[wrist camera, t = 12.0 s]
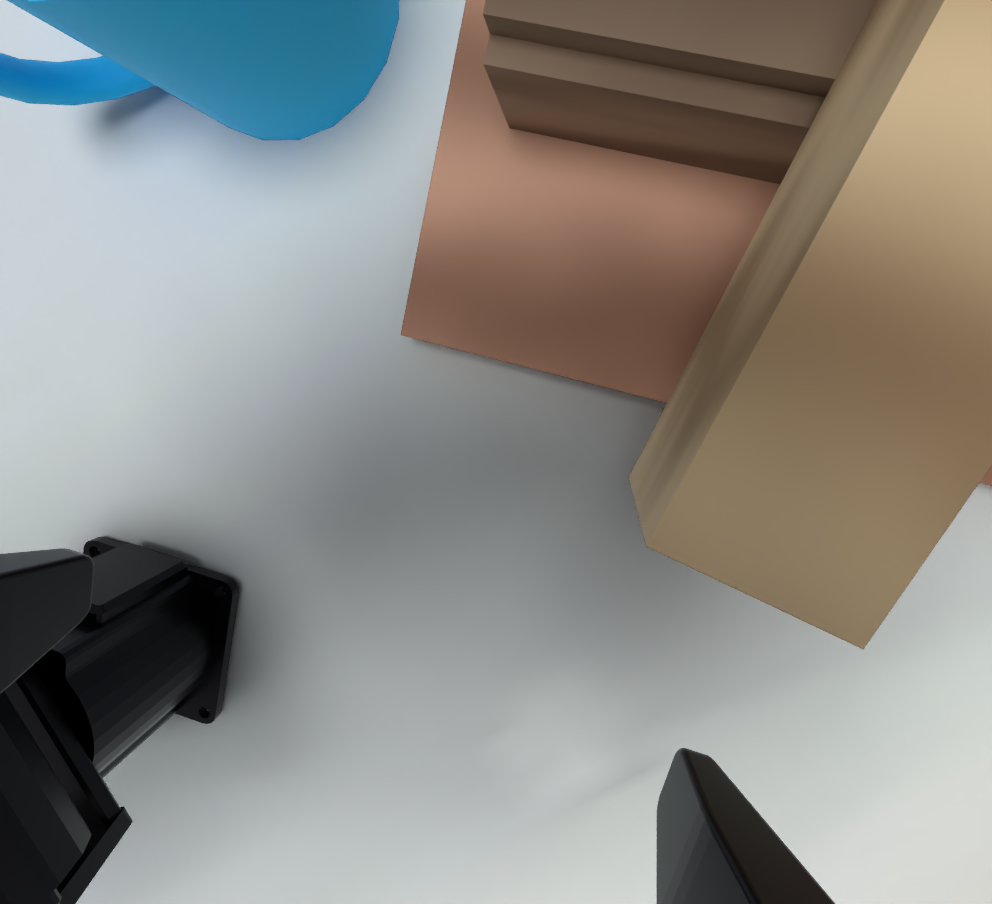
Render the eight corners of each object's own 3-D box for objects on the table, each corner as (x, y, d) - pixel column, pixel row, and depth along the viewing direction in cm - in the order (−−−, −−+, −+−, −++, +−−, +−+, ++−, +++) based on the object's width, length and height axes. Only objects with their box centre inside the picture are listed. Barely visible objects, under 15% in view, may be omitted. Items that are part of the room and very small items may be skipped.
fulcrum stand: (1112, 513, 17) (1382, 605, 11) (412, 335, 19) (334, 333, 14) (1443, -123, 13) (2107, -482, 7) (528, -243, 16) (489, -582, 10)
